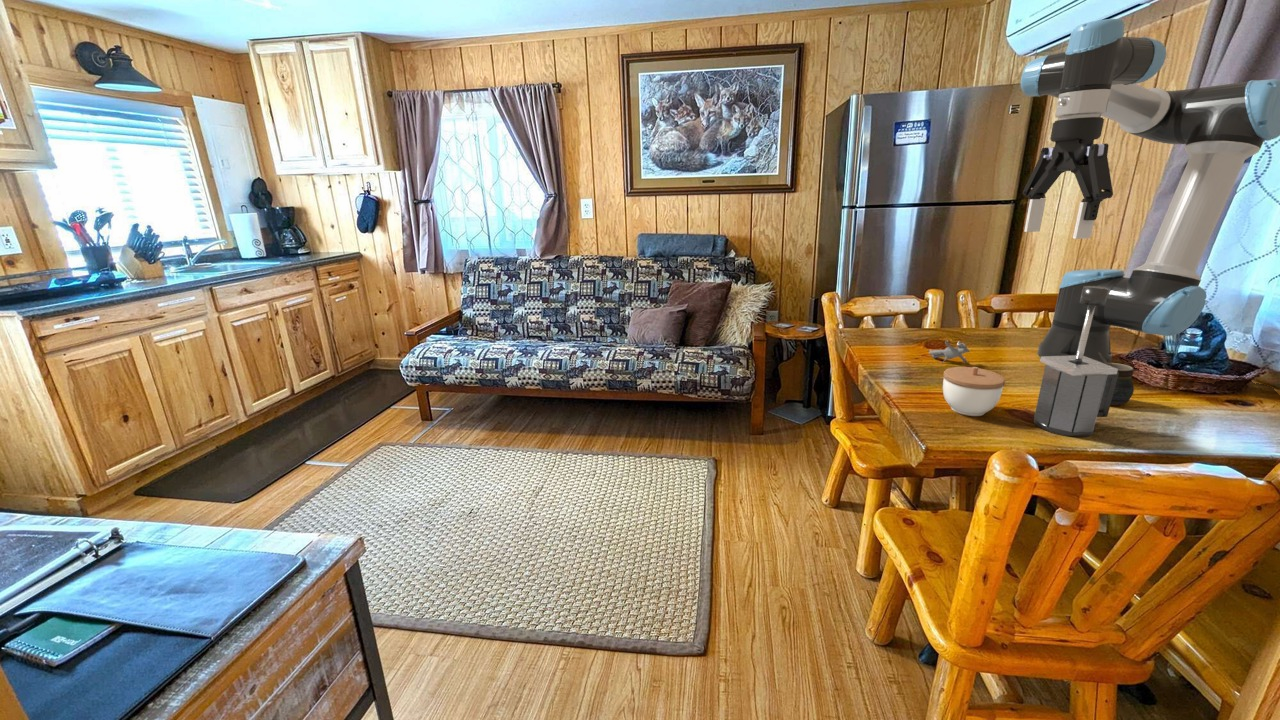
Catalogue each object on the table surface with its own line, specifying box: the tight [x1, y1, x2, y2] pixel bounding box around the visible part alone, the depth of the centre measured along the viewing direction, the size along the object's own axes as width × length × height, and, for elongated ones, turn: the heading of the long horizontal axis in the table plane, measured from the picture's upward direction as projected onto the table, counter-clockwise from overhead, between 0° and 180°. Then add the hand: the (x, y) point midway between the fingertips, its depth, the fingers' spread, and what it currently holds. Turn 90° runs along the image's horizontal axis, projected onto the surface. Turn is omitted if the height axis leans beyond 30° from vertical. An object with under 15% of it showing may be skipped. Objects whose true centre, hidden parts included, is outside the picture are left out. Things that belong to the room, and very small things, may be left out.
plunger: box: [1074, 286, 1109, 365], centre depth 99 cm, size 6×6×18 cm
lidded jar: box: [942, 366, 1006, 417], centre depth 111 cm, size 11×11×9 cm
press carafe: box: [1033, 355, 1119, 438], centre depth 102 cm, size 12×9×13 cm
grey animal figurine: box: [928, 340, 971, 364], centre depth 141 cm, size 10×6×9 cm
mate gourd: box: [1098, 352, 1135, 407], centre depth 114 cm, size 7×8×10 cm
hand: (1055, 235), depth 107 cm, fingers open, 13 cm apart
